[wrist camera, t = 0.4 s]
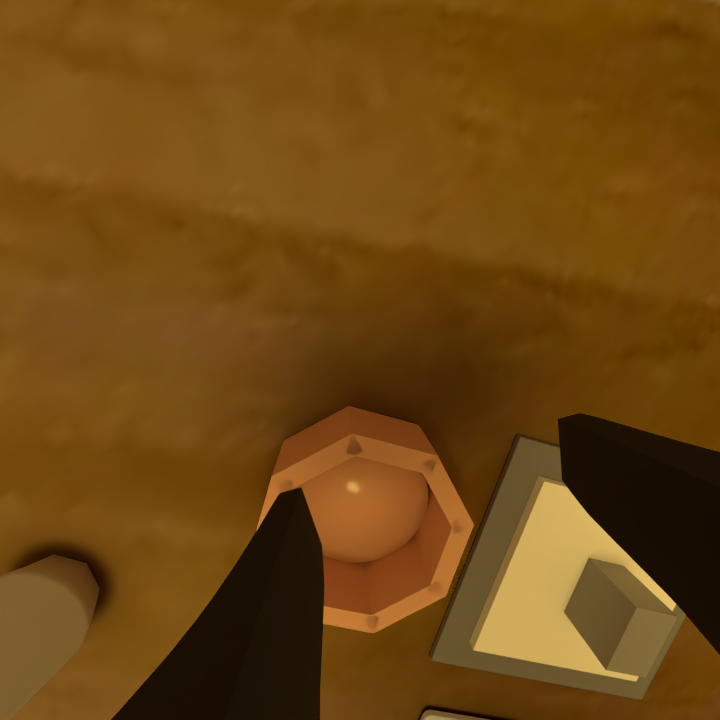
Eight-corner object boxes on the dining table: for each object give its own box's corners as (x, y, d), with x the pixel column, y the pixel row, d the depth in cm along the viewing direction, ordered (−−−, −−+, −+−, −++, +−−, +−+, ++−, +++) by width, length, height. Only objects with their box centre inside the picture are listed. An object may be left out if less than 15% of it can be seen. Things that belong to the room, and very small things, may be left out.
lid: (628, 672, 24) (687, 747, 20) (469, 641, 23) (498, 715, 19) (706, 520, 22) (787, 570, 18) (538, 476, 21) (586, 519, 17)
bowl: (410, 582, 22) (427, 644, 18) (252, 548, 21) (234, 606, 17) (465, 436, 21) (495, 470, 17) (297, 391, 19) (288, 416, 15)
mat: (636, 693, 25) (641, 699, 25) (429, 654, 23) (431, 660, 23) (739, 496, 23) (746, 500, 22) (516, 434, 21) (520, 437, 20)
